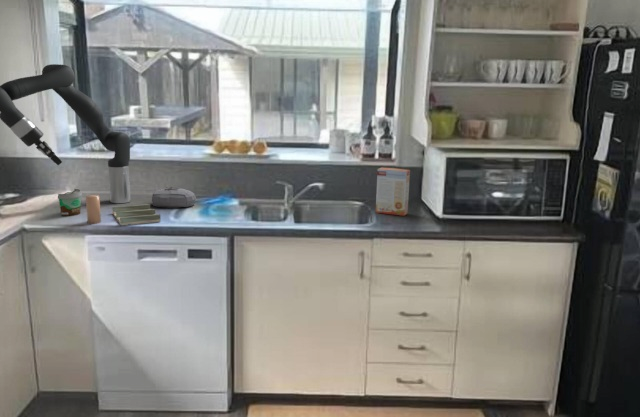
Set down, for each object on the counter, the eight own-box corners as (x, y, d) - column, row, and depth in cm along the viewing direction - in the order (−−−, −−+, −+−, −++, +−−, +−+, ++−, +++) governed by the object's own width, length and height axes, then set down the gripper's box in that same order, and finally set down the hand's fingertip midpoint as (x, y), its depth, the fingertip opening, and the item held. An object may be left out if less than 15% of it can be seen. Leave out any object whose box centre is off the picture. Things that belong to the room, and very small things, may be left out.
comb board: (112, 213, 250) (112, 207, 249) (149, 210, 257) (149, 204, 256) (120, 225, 232) (120, 218, 231) (160, 221, 239) (160, 214, 238)
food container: (72, 218, 241) (70, 194, 239) (59, 216, 242) (57, 194, 240) (89, 211, 253) (87, 189, 250) (76, 210, 254) (75, 188, 252)
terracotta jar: (86, 221, 237) (85, 195, 234) (100, 219, 239) (98, 194, 237) (88, 224, 232) (86, 197, 230) (101, 222, 235) (100, 196, 232)
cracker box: (407, 213, 264) (410, 169, 259) (404, 216, 259) (406, 171, 254) (379, 210, 270) (381, 166, 265) (375, 212, 265) (377, 168, 260)
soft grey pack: (149, 208, 262) (192, 209, 262) (148, 190, 260) (192, 191, 260) (157, 201, 277) (199, 202, 277) (157, 184, 275) (198, 185, 275)
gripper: (36, 125, 211) (68, 157, 219) (33, 124, 223) (64, 154, 231) (19, 138, 209) (53, 171, 217) (17, 136, 221) (49, 167, 229)
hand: (58, 162), depth 224 cm, fingers open, 8 cm apart
